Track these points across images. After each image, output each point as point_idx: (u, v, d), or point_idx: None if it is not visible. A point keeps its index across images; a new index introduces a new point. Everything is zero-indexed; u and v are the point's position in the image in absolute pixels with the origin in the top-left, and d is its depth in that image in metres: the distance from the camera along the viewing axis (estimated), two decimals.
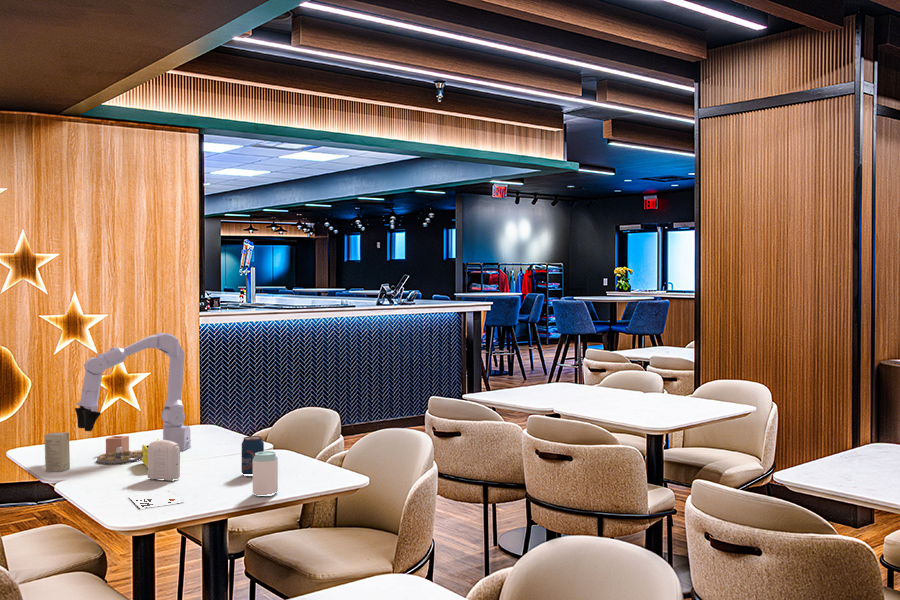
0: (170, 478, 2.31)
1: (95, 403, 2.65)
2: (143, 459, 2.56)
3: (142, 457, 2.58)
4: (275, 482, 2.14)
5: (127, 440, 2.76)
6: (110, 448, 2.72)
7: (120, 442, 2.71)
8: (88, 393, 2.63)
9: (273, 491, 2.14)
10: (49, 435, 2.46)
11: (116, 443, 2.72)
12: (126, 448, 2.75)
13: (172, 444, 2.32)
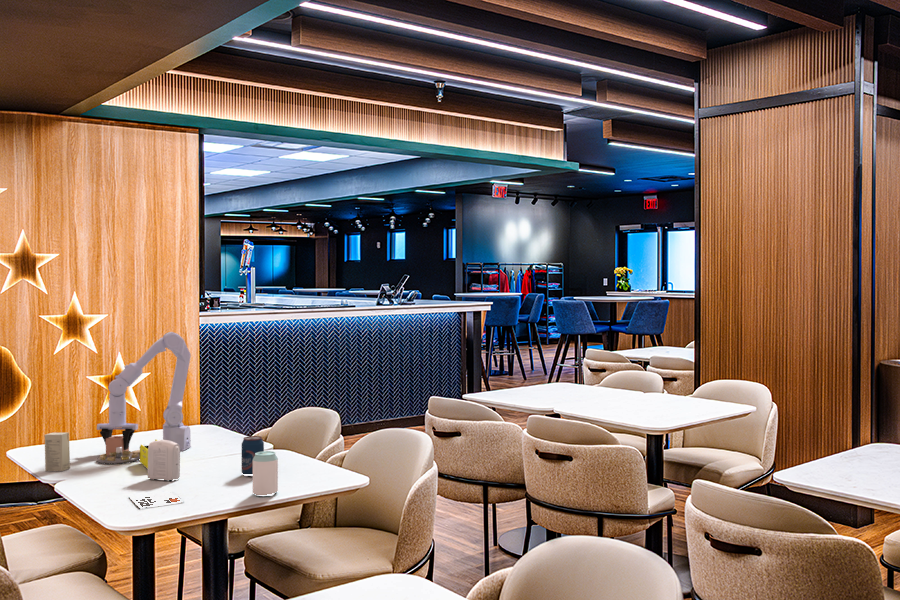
0: (170, 478, 2.31)
1: (125, 422, 2.76)
2: (141, 459, 2.55)
3: (140, 457, 2.57)
4: (275, 482, 2.14)
5: None
6: (110, 448, 2.72)
7: (120, 442, 2.71)
8: (122, 414, 2.73)
9: (273, 491, 2.14)
10: (49, 435, 2.46)
11: (116, 443, 2.72)
12: None
13: (172, 444, 2.32)
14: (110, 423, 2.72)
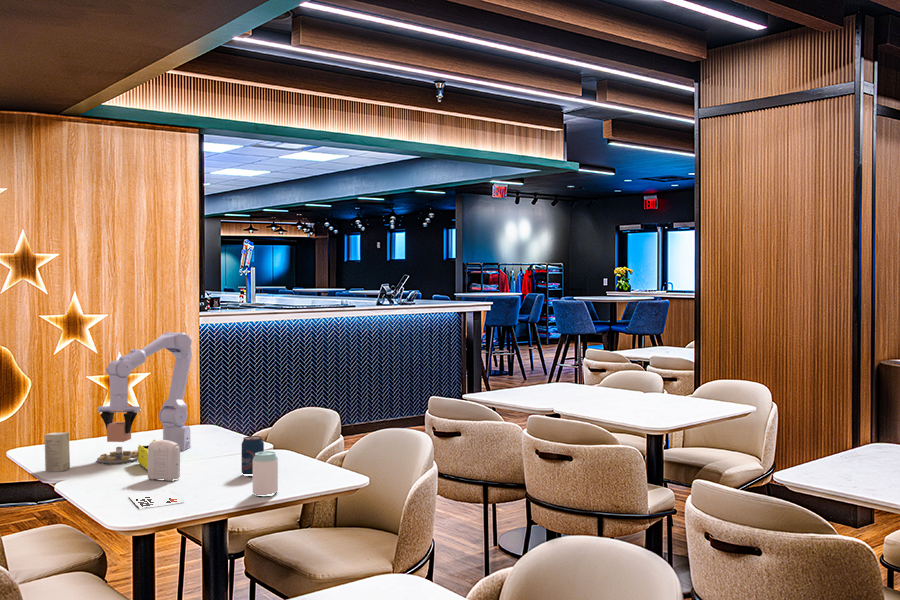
0: (170, 478, 2.31)
1: (127, 405, 2.65)
2: (139, 460, 2.55)
3: (138, 458, 2.57)
4: (275, 482, 2.14)
5: None
6: (112, 434, 2.61)
7: (122, 428, 2.61)
8: (123, 396, 2.62)
9: (273, 491, 2.14)
10: (49, 435, 2.46)
11: (118, 429, 2.61)
12: (128, 435, 2.65)
13: (172, 444, 2.32)
14: (111, 405, 2.62)
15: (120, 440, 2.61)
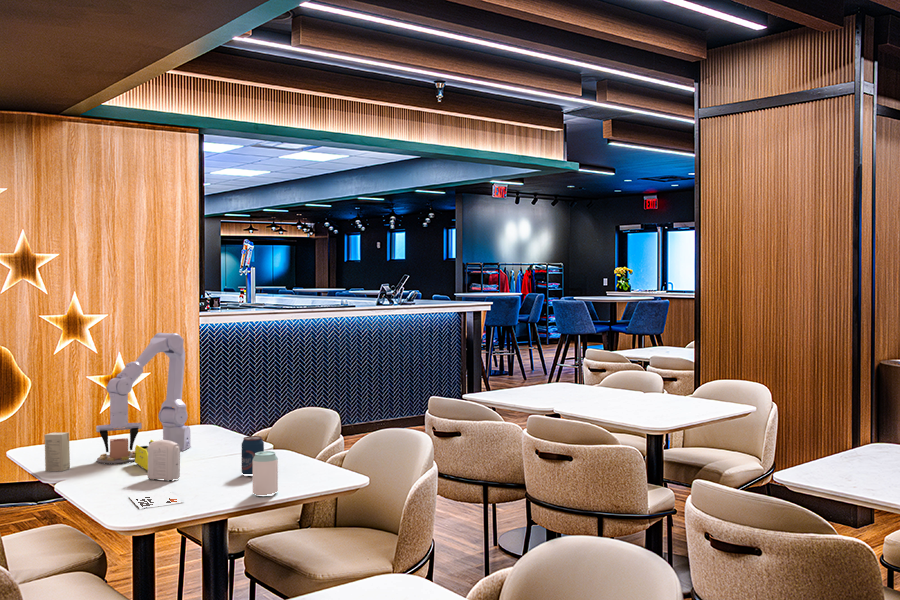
0: (170, 478, 2.31)
1: None
2: (137, 460, 2.54)
3: (135, 458, 2.56)
4: (275, 482, 2.14)
5: None
6: (115, 451, 2.60)
7: (127, 444, 2.62)
8: (126, 414, 2.63)
9: (273, 491, 2.14)
10: (49, 435, 2.46)
11: (122, 446, 2.61)
12: None
13: (172, 444, 2.32)
14: (115, 424, 2.60)
15: None
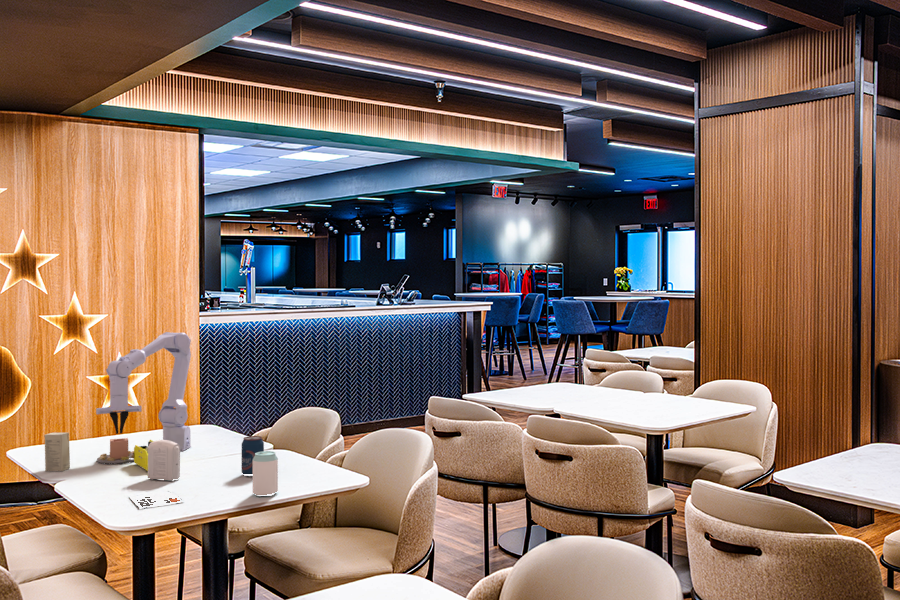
0: (170, 478, 2.31)
1: None
2: (136, 460, 2.54)
3: (134, 458, 2.56)
4: (275, 482, 2.14)
5: None
6: (115, 451, 2.60)
7: (127, 444, 2.62)
8: (126, 396, 2.63)
9: (273, 491, 2.14)
10: (49, 435, 2.46)
11: (122, 446, 2.61)
12: None
13: (172, 444, 2.32)
14: (115, 406, 2.60)
15: None
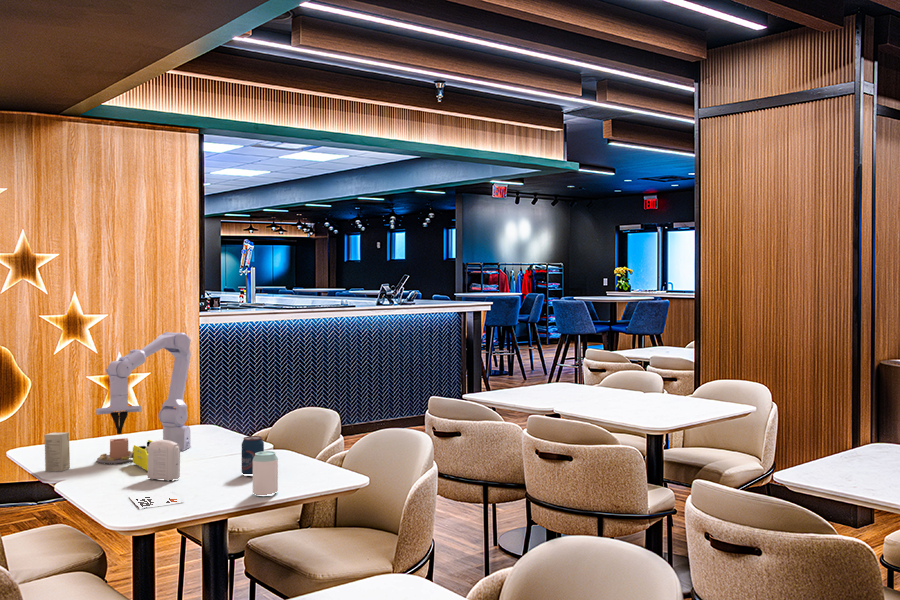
0: (170, 478, 2.31)
1: None
2: (135, 460, 2.54)
3: (133, 458, 2.56)
4: (275, 482, 2.14)
5: None
6: (115, 451, 2.60)
7: (127, 444, 2.62)
8: (126, 396, 2.63)
9: (273, 491, 2.14)
10: (49, 435, 2.46)
11: (122, 446, 2.61)
12: None
13: (172, 444, 2.32)
14: (115, 406, 2.61)
15: None
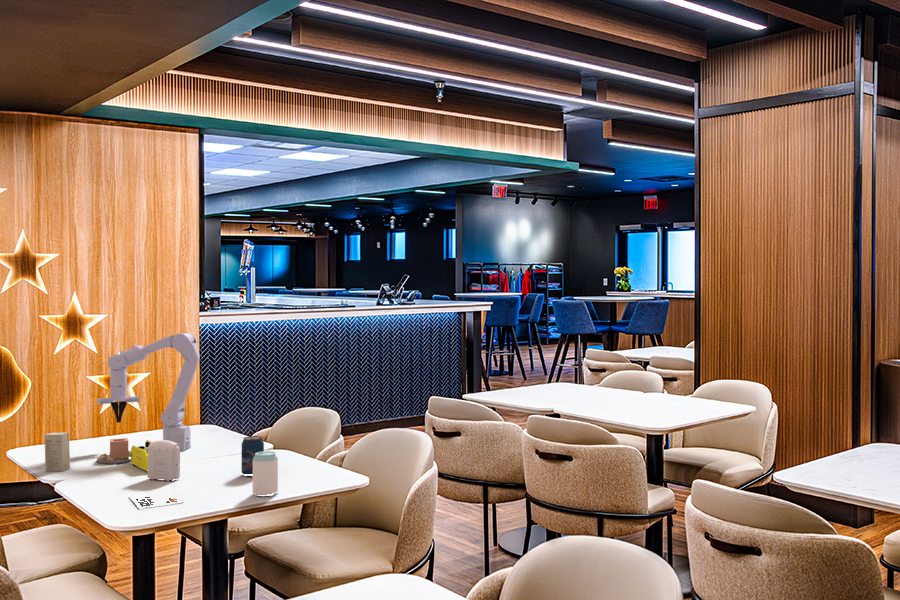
0: (170, 478, 2.31)
1: None
2: (133, 460, 2.54)
3: (131, 458, 2.55)
4: (275, 482, 2.14)
5: None
6: (115, 451, 2.60)
7: (127, 444, 2.62)
8: (125, 387, 2.81)
9: (273, 491, 2.14)
10: (49, 435, 2.46)
11: (122, 446, 2.61)
12: None
13: (172, 444, 2.32)
14: (115, 396, 2.79)
15: None
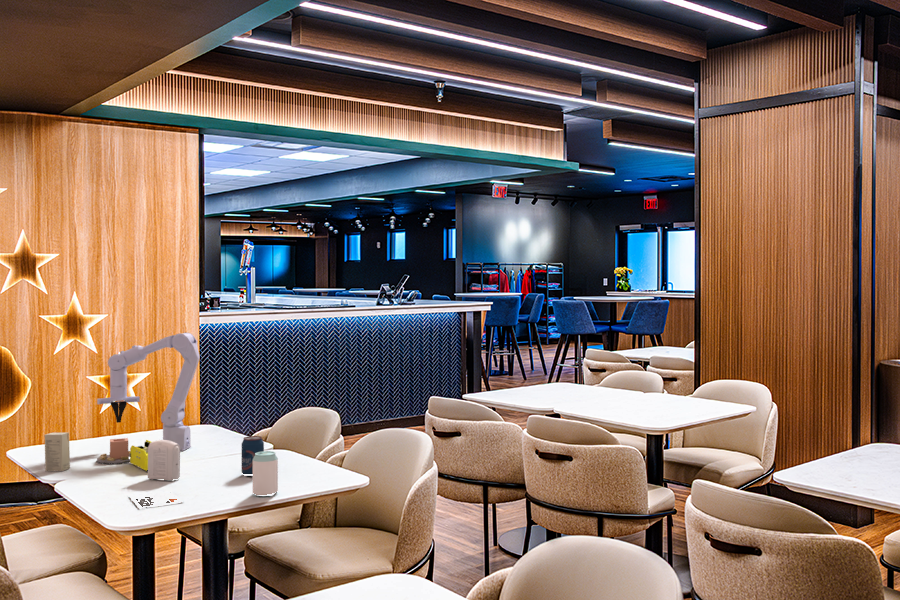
0: (170, 478, 2.31)
1: None
2: (133, 460, 2.54)
3: (130, 458, 2.55)
4: (275, 482, 2.14)
5: None
6: (115, 451, 2.60)
7: (127, 444, 2.62)
8: (125, 387, 2.81)
9: (273, 491, 2.14)
10: (49, 435, 2.46)
11: (122, 446, 2.61)
12: None
13: (172, 444, 2.32)
14: (115, 396, 2.79)
15: None
